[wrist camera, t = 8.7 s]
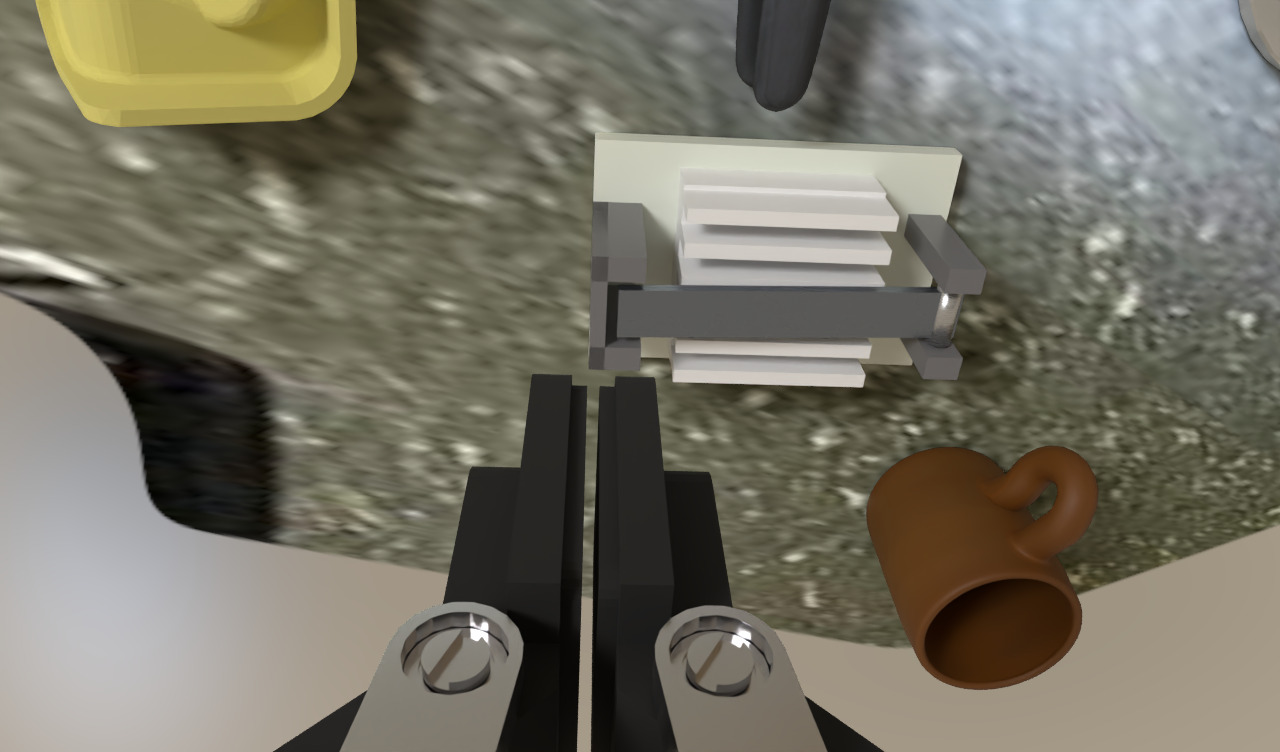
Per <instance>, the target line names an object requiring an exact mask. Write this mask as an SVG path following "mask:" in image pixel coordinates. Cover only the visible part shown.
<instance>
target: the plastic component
mask: <svg viewBox="0 0 1280 752" xmlns="http://www.w3.org/2000/svg"><path fill="white" fill-rule="evenodd" d="M35 1H36V5H37V9H38V13H39V16H40V20H41V23H42V27H43V30H44V34H45V37H46V40H47V43H48V46H49V49H50V52H51V55H52V58H53V61H54V63H55V66H56V68H57V70H58V73H59V75H60V77H61V78H62V80H63V82H64V83H65V85H66V87H67V88H68V90H69V92H70V93H71V95H72V97H73V98H74V100H75V102H76V103H77V105H78V107H79V108H80V110H81V112H82V113H83V115H84V117H86V118H87V119H88V120H90V121H92V122H95V123H99V124H102V125H109V126H117V127H129V126H156V125H183V124H211V123H238V122H265V121H293V120H300V119H304V118H309V117H313V116H315V115H317V114H319V113H321V112H323V111H325V110H326V109H328V108H329V107H331V106H332V105H333V104H334V103H335V102H336V101H337V100H339V99H340V98H341V97H342V95H343V94H344V92H345V91H346V89H347V88H348V86H349V85H350V82H351V80H352V78H353V75H354V72H355V67H356V61H357V38H356V4H355V0H35Z"/></svg>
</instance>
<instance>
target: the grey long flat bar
mask: <svg viewBox="0 0 1280 752" xmlns="http://www.w3.org/2000/svg"><path fill="white" fill-rule="evenodd" d="M964 295H965V294H948V293H944V292H943V291H942V289H941V288H940V287H939V285H938V286H937V287H862V286H736V285H618V295H617V317H616V336H617V337H719V338H925V339H924V340H925V342H926V343H928V344H929V345H931V346H935V347H947V346H949V345H950V342H951V338H953V336H954V333H955V329H956V325H957V321H958V317H959V314H960V310H961V306H962V302H963V299H964Z"/></svg>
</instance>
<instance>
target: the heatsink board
mask: <svg viewBox="0 0 1280 752" xmlns="http://www.w3.org/2000/svg"><path fill="white" fill-rule="evenodd" d="M962 156H963V155H961V154H960V153H959V152H958V151H957V150H956V149H955V148H947V147H924V146H901V145H879V144H856V143H833V142H811V141H788V140H765V139H742V138H720V137H697V136H674V135H652V134H629V133H606V132H595V162H594V195H593V229H592V262H591V295H590V328H589V369H595V370H630V371H640V361H641V357H648V358H669V361H670V363H671V371H672V379H673V382H692V383H727V384H763V385H798V386H833V387H863V384H864V380H865V373H864V371H863V369H862V367H861V364H883V365H912V362H913V363H914V364H915V366H916V368H917V370H918V372H919V373H920V375H921V377H922V379H940V380H957V378H958V375H959V371H960V367H961V364H962V360H963V358H962V356H961V355H960V353H959V352H958V350H957V349H956V347H955V346H954V344H953V342H952V341H951V342H950V345H949V346H947V347H935V346H931V345H929V344H928V343H926V342H925V340H924V339H925V338H719V337H617V336H616V317H617V295H618V285H736V286H862V287H931V283H932V279H933V278H934V279H935V281H936V282H937V284H938V285H939V287H940V288H941V289H942V291H943V292H944V293H948V294H977V295H981V291H982V288H983V284H984V280H985V277H986V273H987V270H986V269H985V267H984V266H983V265H982V264H981V263H980V261H979V260H978V259H977V258H976V257H975V255H974V254H973V253H972V252H971V251H970V249H969V248H968V247H967V246H966V245H965V243H964V242H963V241H962V240H961V239H960V237H959V236H958V235H957V234H956V233H955V231H954V230H953V229H952V228H951V227H950V225H949V224H948V223H947V217H948V213H949V209H950V205H951V201H952V197H953V193H954V189H955V184H956V180H957V176H958V172H959V168H960V164H961V160H962Z"/></svg>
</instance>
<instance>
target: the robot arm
mask: <svg viewBox="0 0 1280 752" xmlns="http://www.w3.org/2000/svg"><path fill="white" fill-rule="evenodd" d="M1239 6H1240V13H1241V16H1242V19H1243V21H1244V24H1245V26H1246V29H1247V31H1248V34H1249V36H1250V39H1251V40H1252V41H1253V43H1254V44H1255V45H1256V47H1257V48H1258V50H1259V51H1260V52H1261V54H1262V55H1263V56H1264V58H1265V59H1266V60H1267V61H1268V62H1270V63H1271V64H1272V65H1274V66H1275V67H1276V68H1278V69H1279V70H1280V0H1239ZM586 408H587V386H572V375H551V374H532V379H531V388H530V396H529V404H528V412H527V420H526V428H525V436H524V444H523V452H522V460H521V468H511V467H472V468H471V469H470V473H469V476H468V481H467V486H466V491H465V496H464V501H463V506H462V511H461V516H460V521H459V526H458V531H457V536H456V541H455V546H454V551H453V556H452V561H451V566H450V571H449V576H448V582H447V586H446V591H445V596H444V601H443V604H442V605H437V606H433V607H431V608H429V609H427V610H424V611H422V612H420V613H418V614H416V615H414V616H413V617H412V618H410V619H409V620H408V621H407V622H406V623H404V624H403V625H402V626H401V627H400V628H399V629H398V631H397V632H396V633H395V635H394V636H393V638H392V639H391V641H390V642H389V644H388V646H387V649H386V651H385V653H384V655H383V657H382V660H381V662H380V664H379V666H378V668H377V671H376V673H375V675H374V677H373V680H372V682H371V684H370V686H369V688H368V690H367V691H365V692H364V693H362V694H361V695H359V696H358V697H356V698H355V699H353V700H351V701H350V702H349V703H347V704H346V705H344V706H342V707H341V708H339V709H338V710H336V711H335V712H333V713H332V714H330V715H329V716H327V717H325V718H324V719H322V720H321V721H320V722H318V723H316V724H315V725H314V726H312V727H310V728H309V729H307V730H306V731H304V732H302V733H301V734H299V735H298V736H296V737H295V738H293V739H292V740H290V741H289V742H287V743H286V744H284V745H283V746H281V747H280V748H278V749H277V750H275V751H273V752H577V730H578V729H577V728H578V696H579V695H578V694H579V663H580V661H579V660H580V630H581V597H582V561H583V523H584V485H585V446H586ZM592 632H593V634H592V715H591V716H592V717H591V752H884V751H882V750H881V749H880V748H878V747H877V746H875V745H874V744H873V743H871V742H870V741H868V740H867V739H866V738H864V737H863V736H861V735H860V734H858V733H857V732H855V731H854V730H853V729H851V728H850V727H848V726H847V725H846V724H844V723H843V722H841V721H840V720H839V719H837V718H836V717H834V716H833V715H831V714H830V713H829V712H827V711H826V710H824V709H823V708H821V707H820V706H819V705H817V704H815V703H814V702H813V701H812V700H810V699H809V698H807V697H806V696H804V693H803V691H802V689H801V686H800V684H799V681H798V679H797V676H796V674H795V671H794V669H793V667H792V664H791V662H790V659H789V657H788V654H787V652H786V649H785V647H784V645H783V644H782V642H781V641H780V639H779V637H778V636H777V634H776V632H775V631H773V630H772V629H771V628H770V627H769V626H768V625H767V624H766V623H764V622H763V621H762V620H761V619H759V618H757V617H755V616H753V615H751V614H749V613H747V612H745V611H743V610H739V609H735V608H733V607H732V601H731V594H730V588H729V582H728V576H727V570H726V564H725V558H724V552H723V545H722V539H721V533H720V527H719V521H718V515H717V509H716V503H715V496H714V490H713V484H712V479H711V475H710V473H709V472H688V471H664V469H663V458H662V448H661V437H660V426H659V415H658V404H657V394H656V383H655V378H654V377H620V376H616V377H615V387H606V386H600V391H599V416H598V443H597V469H596V495H595V522H594V552H593V630H592Z"/></svg>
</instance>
